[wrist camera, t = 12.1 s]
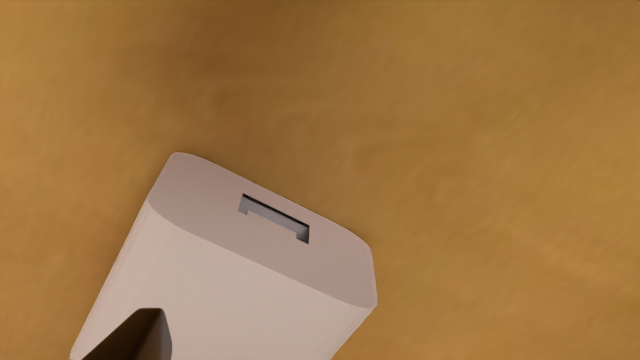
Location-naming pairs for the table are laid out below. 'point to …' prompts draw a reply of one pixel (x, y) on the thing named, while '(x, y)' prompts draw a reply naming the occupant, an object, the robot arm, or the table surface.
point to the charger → (235, 271)
